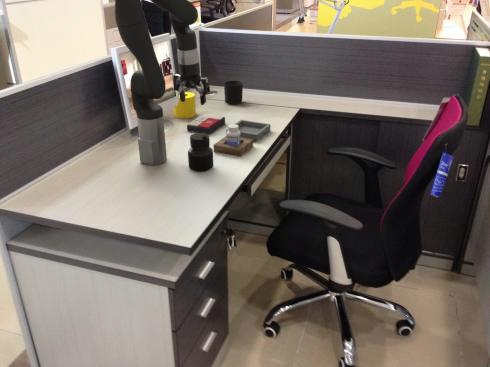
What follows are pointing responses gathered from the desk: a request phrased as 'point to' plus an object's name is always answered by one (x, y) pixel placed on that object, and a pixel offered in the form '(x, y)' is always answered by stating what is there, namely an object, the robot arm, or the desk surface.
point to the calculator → (206, 124)
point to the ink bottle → (200, 153)
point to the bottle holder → (233, 147)
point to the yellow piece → (186, 106)
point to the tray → (252, 129)
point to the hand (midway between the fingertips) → (193, 102)
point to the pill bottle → (233, 135)
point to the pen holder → (233, 92)
